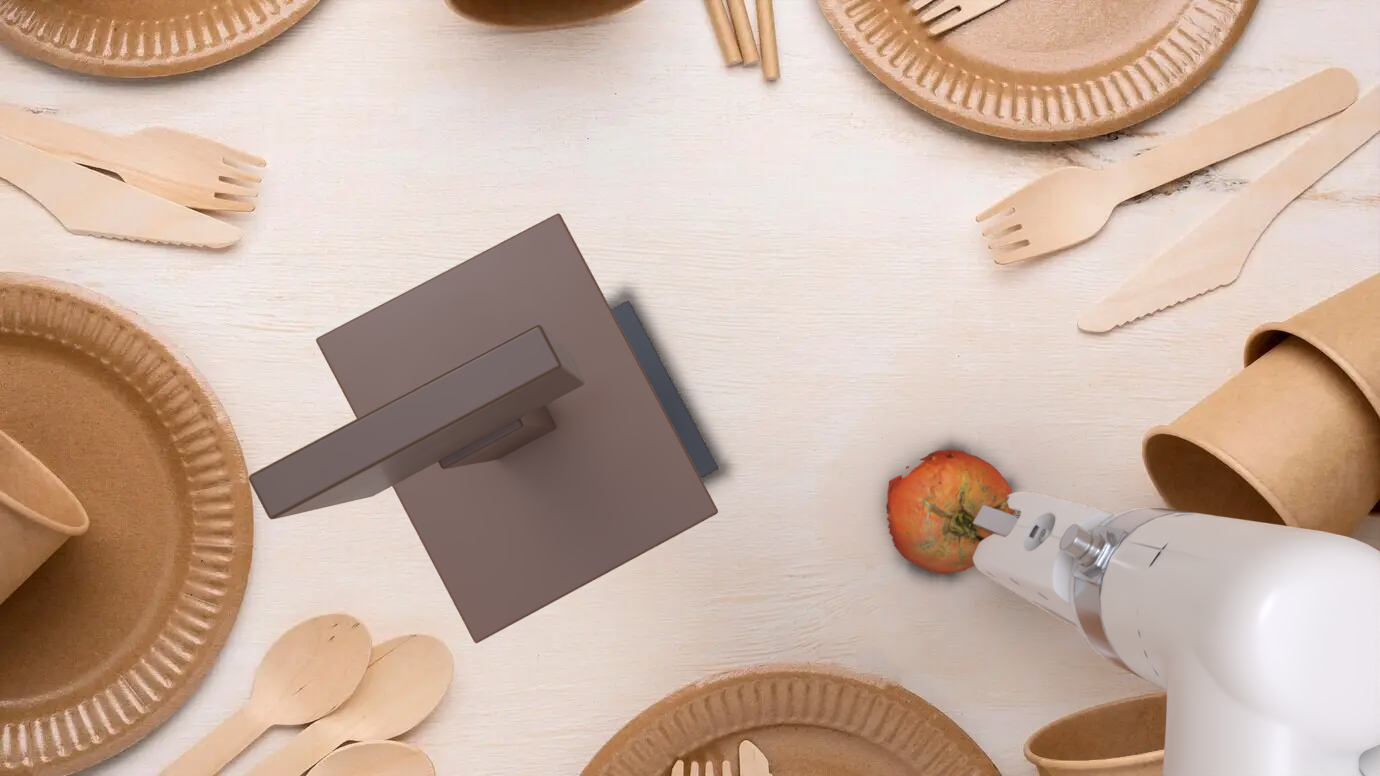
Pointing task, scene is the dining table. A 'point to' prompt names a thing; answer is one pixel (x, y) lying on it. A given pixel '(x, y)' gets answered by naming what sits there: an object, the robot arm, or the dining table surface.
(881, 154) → the dining table surface
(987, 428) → the dining table surface
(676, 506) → the stand
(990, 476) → the tomato
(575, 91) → the dining table surface
